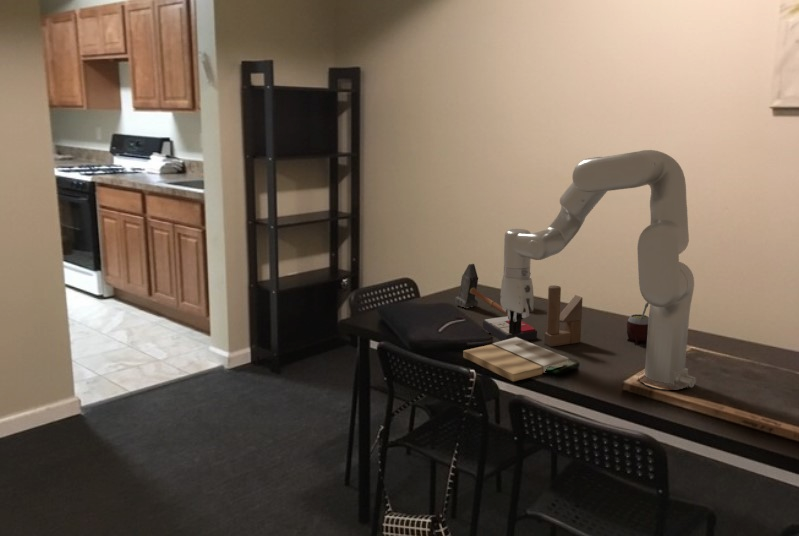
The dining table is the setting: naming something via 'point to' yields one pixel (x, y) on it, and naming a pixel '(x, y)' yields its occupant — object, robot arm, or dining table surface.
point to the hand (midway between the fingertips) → (514, 333)
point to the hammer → (472, 291)
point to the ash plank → (531, 352)
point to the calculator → (501, 329)
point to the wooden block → (562, 319)
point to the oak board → (502, 362)
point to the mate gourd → (638, 327)
